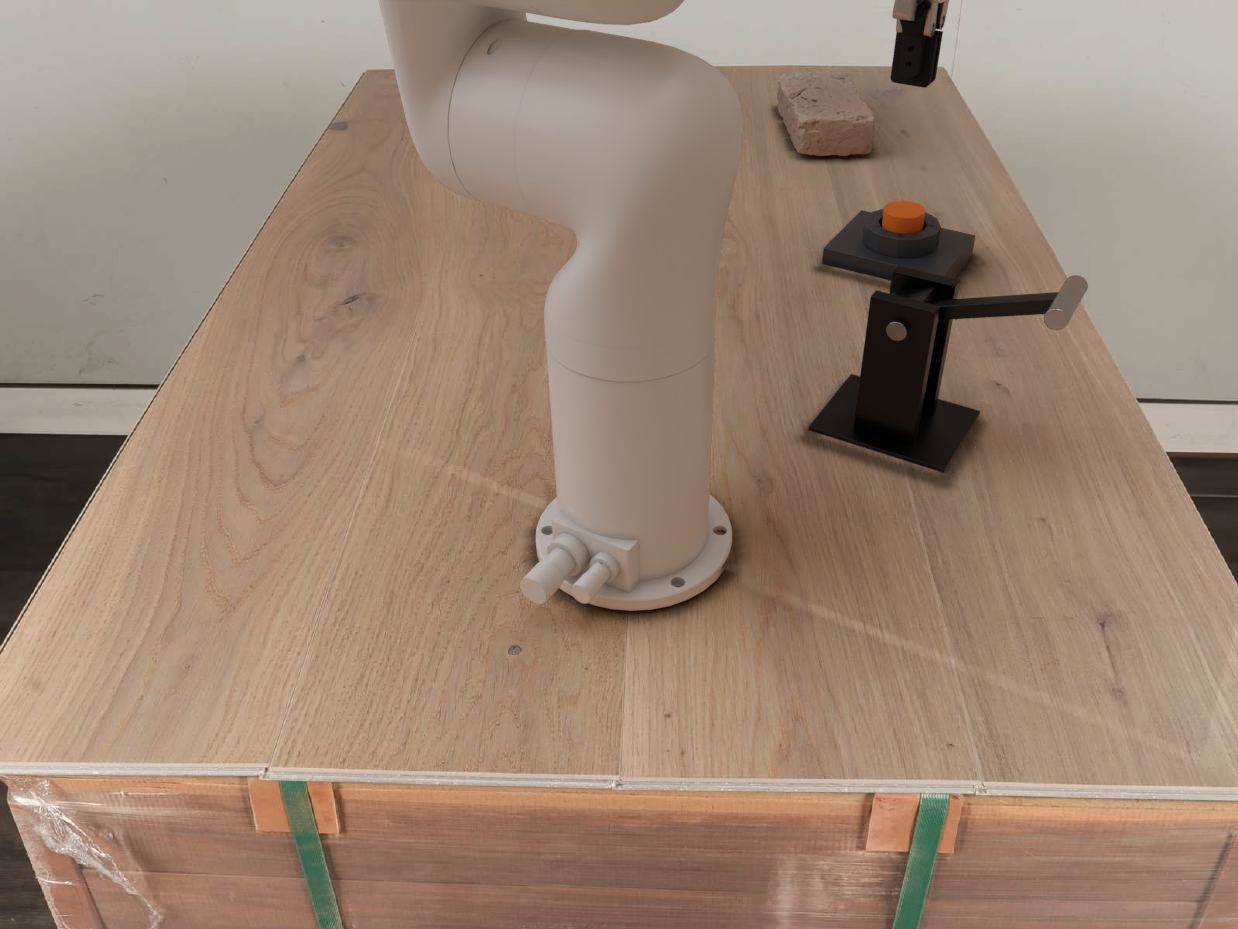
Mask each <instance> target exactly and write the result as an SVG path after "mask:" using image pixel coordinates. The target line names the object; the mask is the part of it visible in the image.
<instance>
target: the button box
mask: <svg viewBox="0 0 1238 929" xmlns="http://www.w3.org/2000/svg"><path fill="white" fill-rule="evenodd" d="M883 211H884V208H881V209H877V210H873V211H867V210H862V209H861V210H860V211H858V213H857V214H856V215H855V216H854V217H852V219H851V220H850V221H849V222H848V223H847V224H845V226H844V227H842V228H841V229H840V231H839V232H838V233H837V234H836V235H835V236H834V237H833V238H832V239H831V240H830V241H829V242H828V243H827V244H826V245H825V246H824V247H823V250H822V260H821V264H822V265H825V266H828V267H833V268H837V269H842V270H845V271H849V272H853V273H858V274H861V275H865V276H869V277H874V278H878V279H882V280H886V281H890V282H891V278H892V271H893V270H894V269H895V268H896V267H897V266H902V267H906V268H911V269H915V270H919V271H923V272H927V273H932V274H936V275H940V276H944V277H948V278H953V279H956V278H957V276H958V275H959V274H960V273H961V271H963V269H964V267H965V266H967V263H968V262H969V261H970V260H971V259H972V257H973V251H974V247H975V241H976V235H975V234H972V233H967V232H963V231H957V230H953V229H950V228H949V229H948V228H944V227H942V226H941V223H940V222H939V219H938V218H937V217H935V216H933V215H932V214H930V213H929V212H925V218H924V225H923V230H922V231H920V232H916V233H913V234H900V233H896V232H891V231H888V230H886V229H884V228H882V219H883Z"/></svg>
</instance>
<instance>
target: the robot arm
mask: <svg viewBox="0 0 1238 929" xmlns="http://www.w3.org/2000/svg"><path fill="white" fill-rule="evenodd" d="M684 2H685V0H378V4H379V8H380V14H381V18H382V22H383V27H384V31H385V35H386V39H387V44H388V48H389V52H390V57H391V62H392V66H393V71H394V75H395V78H396V83H397V88H398V92H399V96H400V99H401V104H402V108H403V112H404V116H405V120H406V124H407V127H408V131H409V135H410V138H411V140H412V144H413V146H414V148H415V151H416V152H417V155H418V156H419V159H420V161H421V162H422V164H423V166H424V168H426V170H427V171H428V173H429V174H430V175H431V176H432V178H434V179H435V180H436V181H437V182H438V183H439V184H440V185H442V186H443V187H444V188H445V189H447V190H449V191H450V192H453V193H454V194H456V195H459V196H462V197H465V198H467V199H470V200H473V201H477V202H479V203H483V204H486V205H489V206H493V207H496V208H501V209H504V210H508V211H510V212H511V211H512V212H516V213H518V214H519V213H520V214H522V215H527V216H530V217H533V218H538V219H541V220H543V221H544V222H545V221H546V222H548V223H551V224H554V225H558V226H561V227H564V228H566V229H568V230H569V231H571V232H572V233H573V234H574V236H575V238H576V247H575V250H574V252H573V254H572V255H571V257H570V258H569V259H568V260H567V261H566V262H565V263H564V264H563V266H562V267H560V269H559V270H558V271H557V273H556V274H555V276H554V277H553V279H552V280H551V283H550V285H549V287H548V290H547V293H546V296H545V301H544V307H543V308H544V309H543V327H544V340H545V349H546V351H545V352H546V363H547V364H546V365H547V376H548V377H547V378H548V391H549V392H548V393H549V405H550V406H549V407H550V420H551V434H552V447H553V448H552V449H553V460H554V461H553V462H554V474H555V475H554V476H555V489H556V496H555V498H553V500H552V501H550V502H549V504H547V506H546V507H545V509H544V510H543V511H542V513H541V515H540V517H539V520H538V522H537V525H536V528H535V547H536V548H535V549H536V558H537V559H538V562H537V563H536V564H535V565H534V566H533V567H532V568H531V569H530V571H529V572H528V573H527V574H526V575H525V576H524V577H523V578H521V580H520V582H519V589H520V591H521V592H522V595H523V596H524V597H525V598H526V599H527V600H528V601H530V602H531V603H533V604H535V605H544V604H546V602H548V600H550V598H551V597H552V596H553V595H554V594H555V593H556V592H557V591H558V590H559V589H560V590H561V591H563V592H564V593H566V594H567V595H569V596H571V597H573V598H574V600H576V601H577V602H579V603H580V604H583V605H587V604H589V605H591V606H595V607H600V608H605V609H610V610H617V611H629V612H633V611H634V612H635V611H649V610H657V609H661V608H666V607H671V606H674V605H676V604H679V603H682V602H685V601H688V600H691V599H692V598H693V597H696V596H697V595H699V594H700V593H702V592H704V591H705V590H707V589H708V588H709V587H710V586H711V585H713V584H714V583H715V582H716V581H717V580H718V579H719V578H720V576H721V575H722V574H723V572H724V571H725V568H723V566H724V565H725V563H726V561H727V559H728V558H729V556H730V553H731V549H732V545H733V527H732V524H731V521H730V517H729V514H727V511H726V510H725V508H724V507H723V505H722V504H721V503H720V502H719V501H718V500H717V499H716V498H715V497H714V496H713V495H712V494H711V470H712V469H711V468H712V467H711V466H712V442H713V439H712V438H713V415H714V414H713V412H714V389H715V388H714V387H715V386H714V385H715V384H714V383H715V355H716V322H717V303H718V302H717V301H718V300H717V299H718V287H719V286H718V285H719V273H720V264H721V254H722V249H723V248H722V247H723V241H724V236H725V228H726V223H727V219H728V215H729V209H730V206H731V200H732V197H733V192H734V189H735V183H736V180H737V176H738V172H739V167H740V162H741V157H742V156H741V155H742V150H743V143H744V141H743V140H744V115H743V110H742V106H741V102H740V100H739V96H738V94H737V93H736V91H735V88H734V87H733V86H732V84H731V83H730V81H729V80H728V79H727V77H726V76H725V75H723V73H722V72H721V71H720V70H718V69H717V67H715V66H714V65H713V64H711V63H710V62H708V61H706V60H705V59H703V58H701V57H700V56H698V55H696V54H693V53H691V52H689V51H685V50H683V49H680V48H678V47H675V46H672V45H668V44H665V43H660V42H657V41H652V40H646V39H643V38H642V39H641V38H637V37H630V36H625V35H618V34H614V33H613V34H612V33H607V32H601V31H597V30H590V29H576V28H575V29H574V28H570V27H564V26H558V25H552V24H548V23H547V24H546V23H541V22H534V21H530V20H529V21H528V17H527V14H531V15H535V16H542V17H548V18H553V19H559V20H565V21H566V20H567V21H573V22H579V23H585V24H587V23H588V24H597V25H611V26H612V25H614V26H631V25H632V26H633V25H639V24H647V23H651V22H655V21H658V20H660V19H662V18H664V17H666V16H668V15H670V14H672V13H673V12H675V11H676V10H677V9H678V8H679V7H680V6H681V5H682V4H683V3H684ZM949 3H950V0H894V3H893V8H892V12H891V13H892V19H895V20H896V23H895V24H896V25H895V31H896V33H895V41H894V49H893V56H892V64H891V70H890V81H891V82H892V83H894V84H899V85H906V86H912V87H918V88H922V89H923V88H927V87H929V86H930V85H931V84H932V83H933V82H935V81H936V78H937V74H938V73H937V72H938V65H939V61H940V60H939V59H940V55H941V54H940V53H941V47H942V39H943V34H944V31H943V29H944V26H945V23H946V18H947V12H948V8H949ZM719 530H720V531H723V532H725V533H723V534H717V533H715V532H716V531H719Z"/></svg>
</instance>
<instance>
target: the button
mask: <svg viewBox="0 0 1238 929" xmlns="http://www.w3.org/2000/svg"><path fill="white" fill-rule="evenodd" d="M883 209H884V211H883V219H882V228H884V229H886V230H888V231H891V232H896V233H900V234H913V233H916V232H920V231H922V230H923V225H924V218H925V212H926V208H925V206H923V205H921V204H920V203H917V202H914V201H910V200H894V201H890V202H887V203H886V204H885V205H884V207H883ZM926 213H927V212H926Z"/></svg>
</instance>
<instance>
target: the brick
mask: <svg viewBox="0 0 1238 929" xmlns="http://www.w3.org/2000/svg"><path fill="white" fill-rule="evenodd" d="M777 85H778V86H777V93H776V97H777V98H776V100H777V106H776V107H777V111H778V114H779V115H780V117H781V118H782V119H783V120H782V121H783V124H784V126H785V128H786V131H787V132H788V135H789V138H790V141H791V143H792V145H793V147H794V149H795V150H796V153H798V154H803V155H808V156H816V157H828V156H841V157H847V156H850V155H853V156H855V155H867V154H870V153H871V152H872V150H873V146H874V131H875V126H876V124H875V113H874V111H873V110H872V109H871V108H870V107H869V105H867V103H866V102H865V101H864V100H862V97H861V95H860V92H859V91H858V89H857V87H856V85H855V83H854V81H852V79H851V77H849V74H847V73H846V72H843V71H835V70H819V71H806V72H804V71H800V72H793V73H783V74H780V76H779V78H778V79H777Z"/></svg>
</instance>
